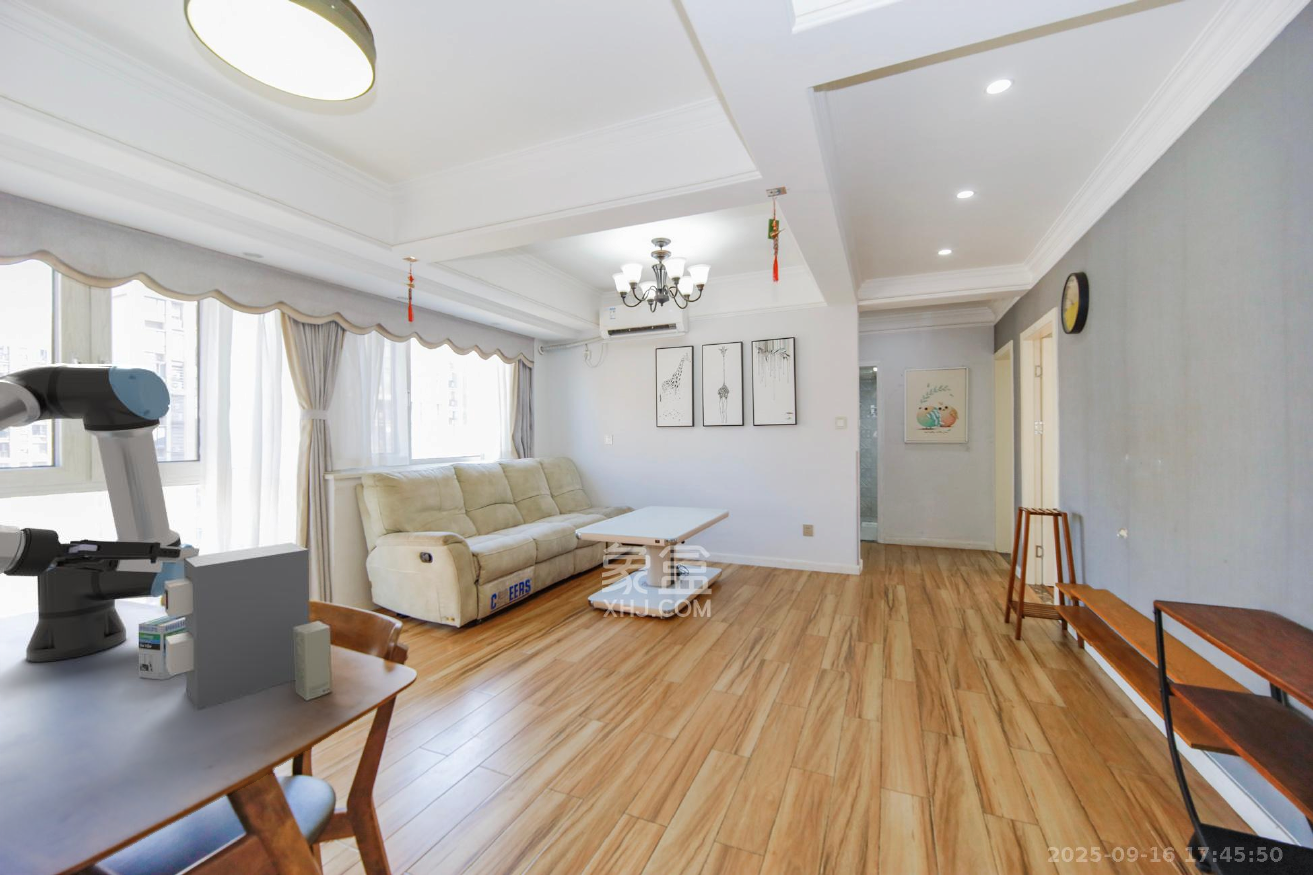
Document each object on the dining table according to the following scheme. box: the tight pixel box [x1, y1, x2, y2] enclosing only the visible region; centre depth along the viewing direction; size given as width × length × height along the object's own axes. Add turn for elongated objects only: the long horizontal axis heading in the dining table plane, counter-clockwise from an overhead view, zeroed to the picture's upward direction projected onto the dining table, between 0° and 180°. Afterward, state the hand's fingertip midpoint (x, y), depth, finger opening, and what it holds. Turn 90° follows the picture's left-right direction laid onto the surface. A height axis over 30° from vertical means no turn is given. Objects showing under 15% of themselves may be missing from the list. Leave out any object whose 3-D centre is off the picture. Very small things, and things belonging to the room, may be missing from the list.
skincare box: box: [293, 620, 333, 701], centre depth 96 cm, size 6×4×12 cm
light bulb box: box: [138, 614, 185, 681], centre depth 107 cm, size 11×7×11 cm, turn 168°
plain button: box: [166, 632, 194, 676], centre depth 93 cm, size 5×6×5 cm
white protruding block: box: [164, 578, 193, 618], centre depth 93 cm, size 5×6×5 cm
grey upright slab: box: [184, 542, 311, 711], centre depth 100 cm, size 11×17×25 cm, turn 140°
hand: (179, 560), depth 101 cm, fingers open, 11 cm apart
